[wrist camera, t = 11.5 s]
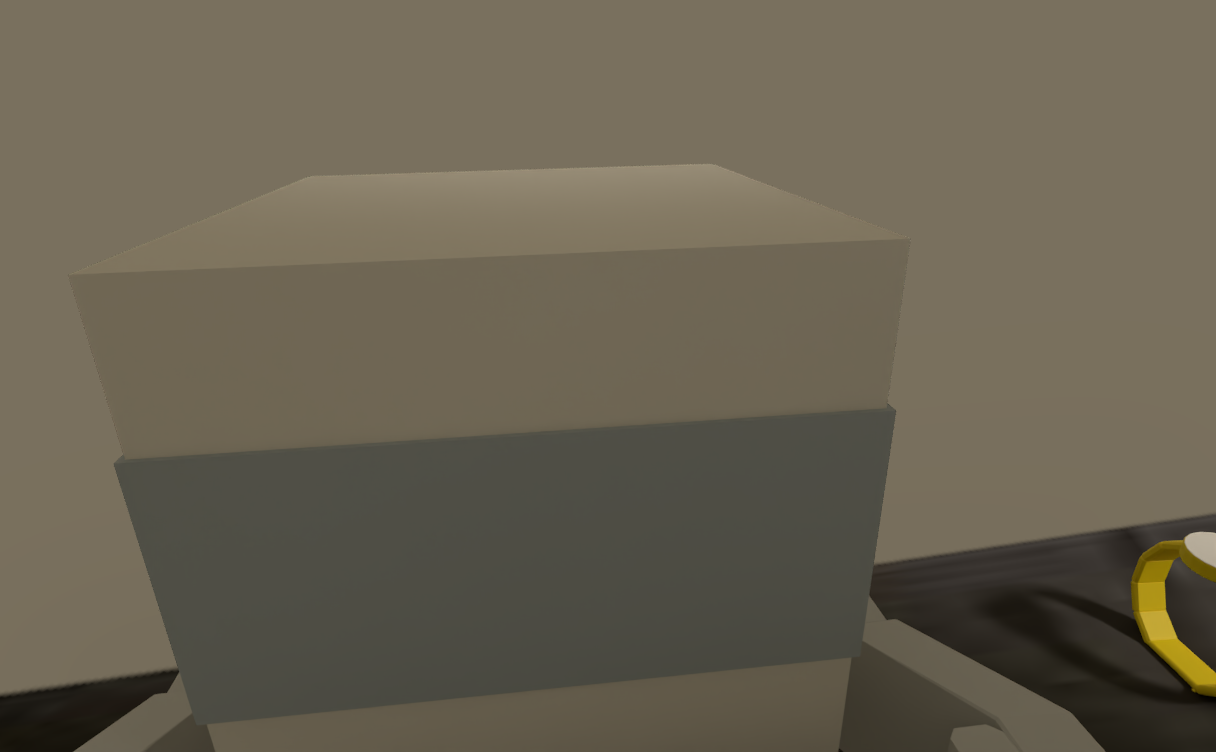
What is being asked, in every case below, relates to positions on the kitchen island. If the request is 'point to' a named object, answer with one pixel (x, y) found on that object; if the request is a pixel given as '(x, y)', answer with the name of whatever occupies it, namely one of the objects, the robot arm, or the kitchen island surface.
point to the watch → (1202, 555)
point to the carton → (508, 458)
